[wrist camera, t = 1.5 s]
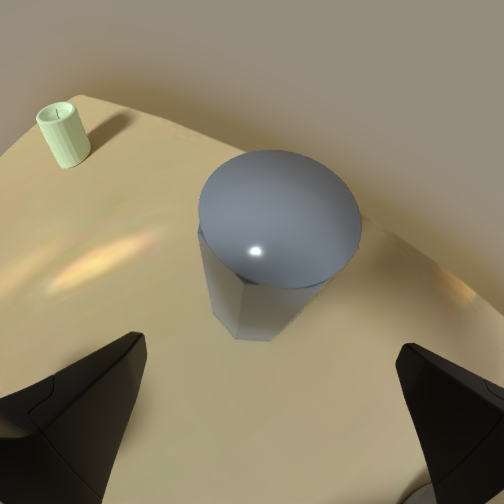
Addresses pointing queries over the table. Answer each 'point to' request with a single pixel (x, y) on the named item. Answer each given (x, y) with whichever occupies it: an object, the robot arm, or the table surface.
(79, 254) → the table surface
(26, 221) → the table surface
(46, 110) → the candle
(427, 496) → the pocket watch
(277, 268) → the grey faceted canister
